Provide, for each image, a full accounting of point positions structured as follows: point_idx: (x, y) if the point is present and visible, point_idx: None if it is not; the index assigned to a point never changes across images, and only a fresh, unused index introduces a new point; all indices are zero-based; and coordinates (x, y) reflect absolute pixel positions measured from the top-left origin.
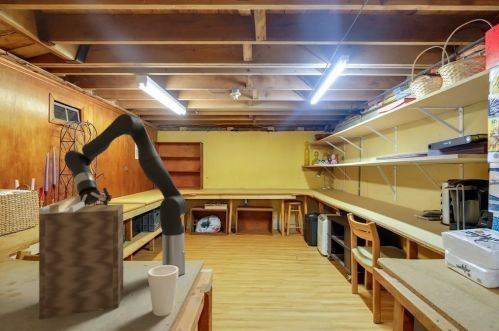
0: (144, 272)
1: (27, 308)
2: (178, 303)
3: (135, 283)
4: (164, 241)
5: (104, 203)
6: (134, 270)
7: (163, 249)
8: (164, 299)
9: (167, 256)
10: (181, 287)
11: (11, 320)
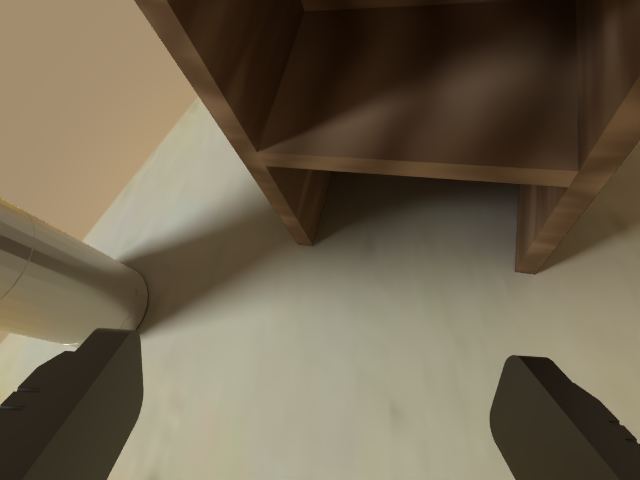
0: (191, 376)
1: (614, 219)
2: (198, 100)
3: (252, 271)
4: (30, 232)
5: (47, 403)
6: (218, 432)
7: (67, 259)
8: None
9: (86, 246)
10: (150, 179)
11: (629, 154)
